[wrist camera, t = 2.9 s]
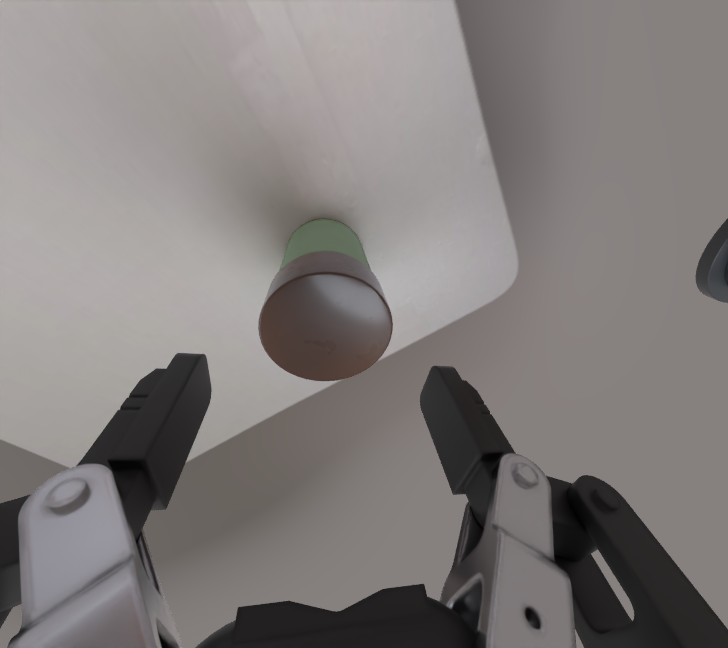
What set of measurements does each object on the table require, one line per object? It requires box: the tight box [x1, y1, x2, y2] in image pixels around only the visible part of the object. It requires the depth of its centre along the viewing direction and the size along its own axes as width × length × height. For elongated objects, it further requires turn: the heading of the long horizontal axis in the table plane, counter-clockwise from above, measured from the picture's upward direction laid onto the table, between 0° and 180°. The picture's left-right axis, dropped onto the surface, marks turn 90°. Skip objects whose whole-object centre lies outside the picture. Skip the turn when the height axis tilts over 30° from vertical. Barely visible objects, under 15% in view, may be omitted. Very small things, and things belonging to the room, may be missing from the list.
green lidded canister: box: [280, 219, 371, 270], centre depth 18 cm, size 6×6×7 cm
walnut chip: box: [259, 251, 393, 381], centre depth 14 cm, size 6×6×2 cm
